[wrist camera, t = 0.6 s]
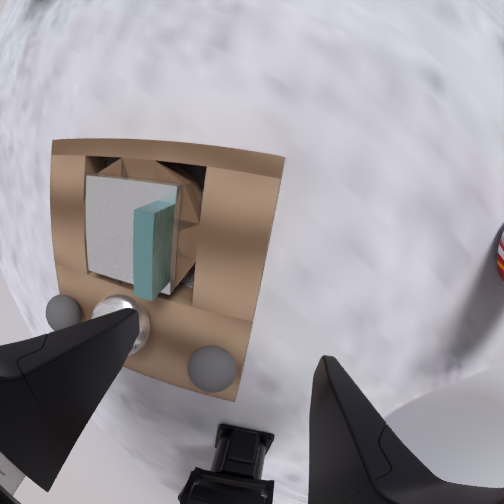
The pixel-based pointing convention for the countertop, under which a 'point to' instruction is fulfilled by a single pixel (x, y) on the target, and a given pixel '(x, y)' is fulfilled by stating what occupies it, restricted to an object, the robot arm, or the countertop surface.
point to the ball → (121, 302)
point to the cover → (133, 231)
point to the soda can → (501, 257)
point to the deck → (188, 245)
